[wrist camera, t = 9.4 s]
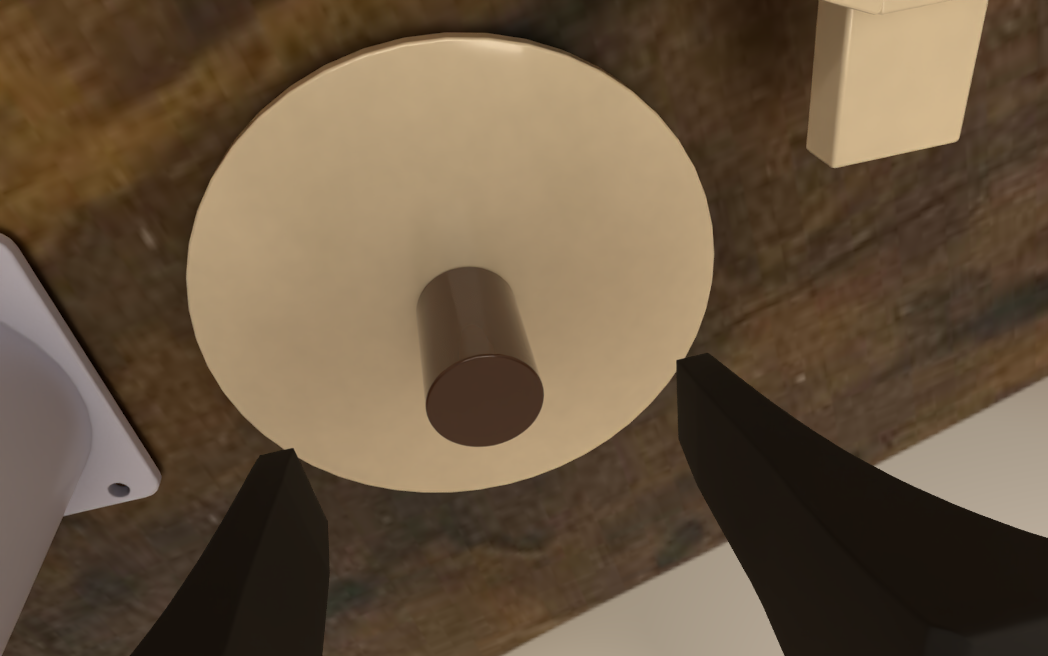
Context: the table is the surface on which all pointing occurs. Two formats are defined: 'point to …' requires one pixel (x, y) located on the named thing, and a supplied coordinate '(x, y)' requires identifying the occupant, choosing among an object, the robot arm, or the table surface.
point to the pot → (890, 76)
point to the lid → (449, 262)
